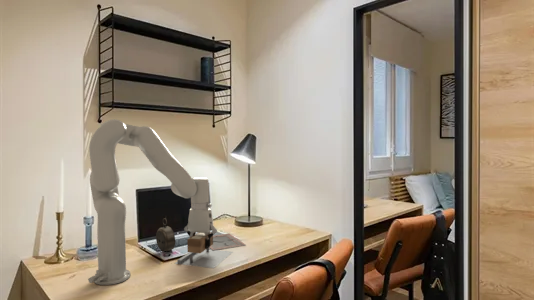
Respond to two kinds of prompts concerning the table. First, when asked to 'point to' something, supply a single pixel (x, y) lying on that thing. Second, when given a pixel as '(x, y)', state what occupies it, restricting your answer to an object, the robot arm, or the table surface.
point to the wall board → (204, 258)
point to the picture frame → (225, 242)
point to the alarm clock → (165, 238)
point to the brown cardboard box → (197, 243)
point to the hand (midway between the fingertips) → (200, 246)
